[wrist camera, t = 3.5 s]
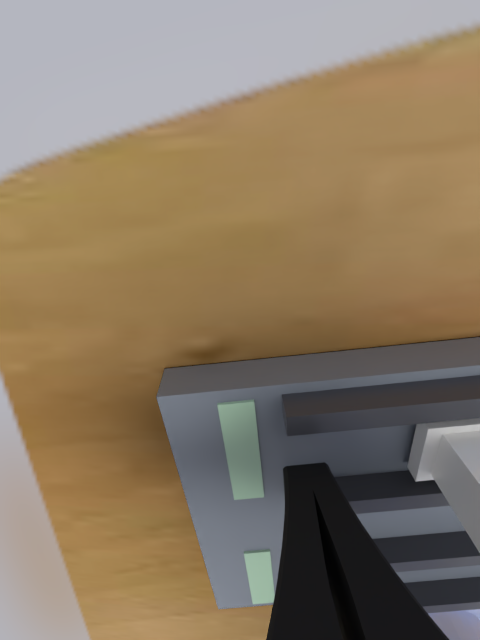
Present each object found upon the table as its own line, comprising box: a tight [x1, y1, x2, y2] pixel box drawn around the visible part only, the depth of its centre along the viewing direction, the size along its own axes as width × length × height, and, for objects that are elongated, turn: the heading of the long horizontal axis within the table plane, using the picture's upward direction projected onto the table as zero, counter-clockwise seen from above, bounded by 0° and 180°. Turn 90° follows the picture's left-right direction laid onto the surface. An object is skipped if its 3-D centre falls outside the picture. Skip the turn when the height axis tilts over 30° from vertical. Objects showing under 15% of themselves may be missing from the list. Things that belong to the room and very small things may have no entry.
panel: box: [156, 337, 480, 613], centre depth 14 cm, size 15×18×2 cm
